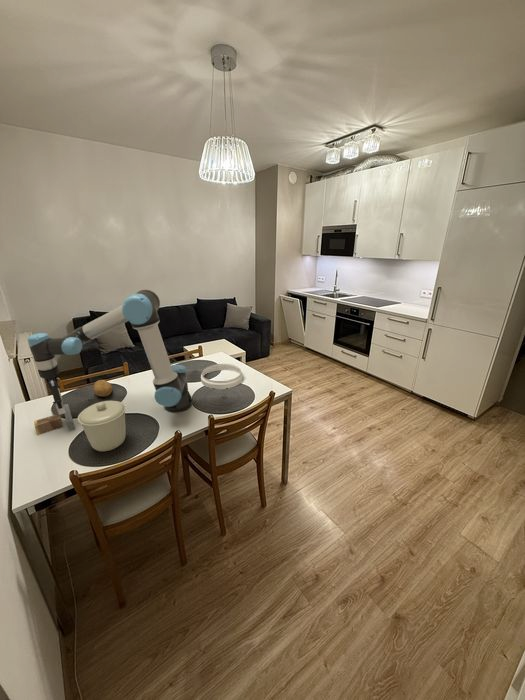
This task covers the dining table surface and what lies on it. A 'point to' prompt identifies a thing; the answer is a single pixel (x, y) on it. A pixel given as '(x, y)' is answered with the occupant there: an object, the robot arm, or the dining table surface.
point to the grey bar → (69, 418)
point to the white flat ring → (221, 384)
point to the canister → (104, 424)
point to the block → (48, 424)
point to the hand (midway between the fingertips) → (60, 407)
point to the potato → (102, 388)
